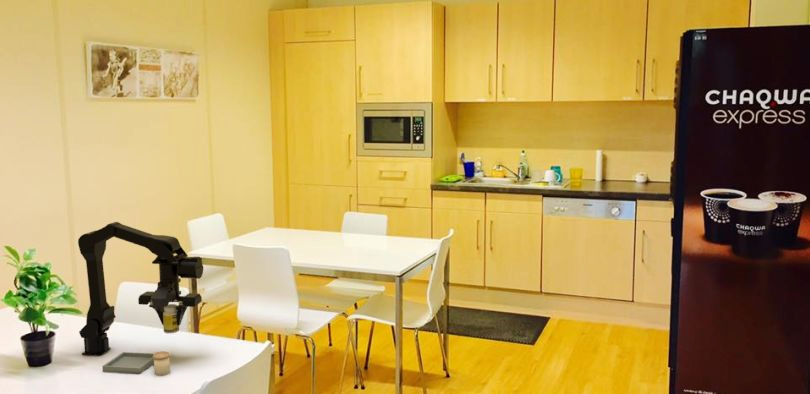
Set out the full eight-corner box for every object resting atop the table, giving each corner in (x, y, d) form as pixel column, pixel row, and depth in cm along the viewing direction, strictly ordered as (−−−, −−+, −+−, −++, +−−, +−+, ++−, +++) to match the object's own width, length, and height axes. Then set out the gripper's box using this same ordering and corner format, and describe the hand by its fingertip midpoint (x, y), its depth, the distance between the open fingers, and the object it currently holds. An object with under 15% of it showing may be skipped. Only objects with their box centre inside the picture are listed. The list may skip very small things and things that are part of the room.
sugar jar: (150, 375, 211) (149, 356, 210) (158, 369, 215) (157, 351, 214) (166, 376, 210) (165, 357, 209) (173, 370, 215) (172, 351, 214)
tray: (102, 371, 213) (102, 366, 213) (123, 357, 225) (123, 351, 224) (140, 374, 211) (139, 368, 211) (159, 359, 223) (158, 353, 223)
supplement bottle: (174, 334, 222) (173, 308, 221) (160, 333, 223) (159, 307, 221) (182, 329, 226) (181, 304, 225) (168, 328, 227) (167, 303, 226)
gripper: (128, 282, 215) (130, 332, 217) (186, 285, 213) (188, 334, 215) (145, 273, 226) (148, 320, 228) (201, 276, 224) (203, 323, 226)
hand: (171, 325), depth 224 cm, fingers closed on supplement bottle, 5 cm apart
